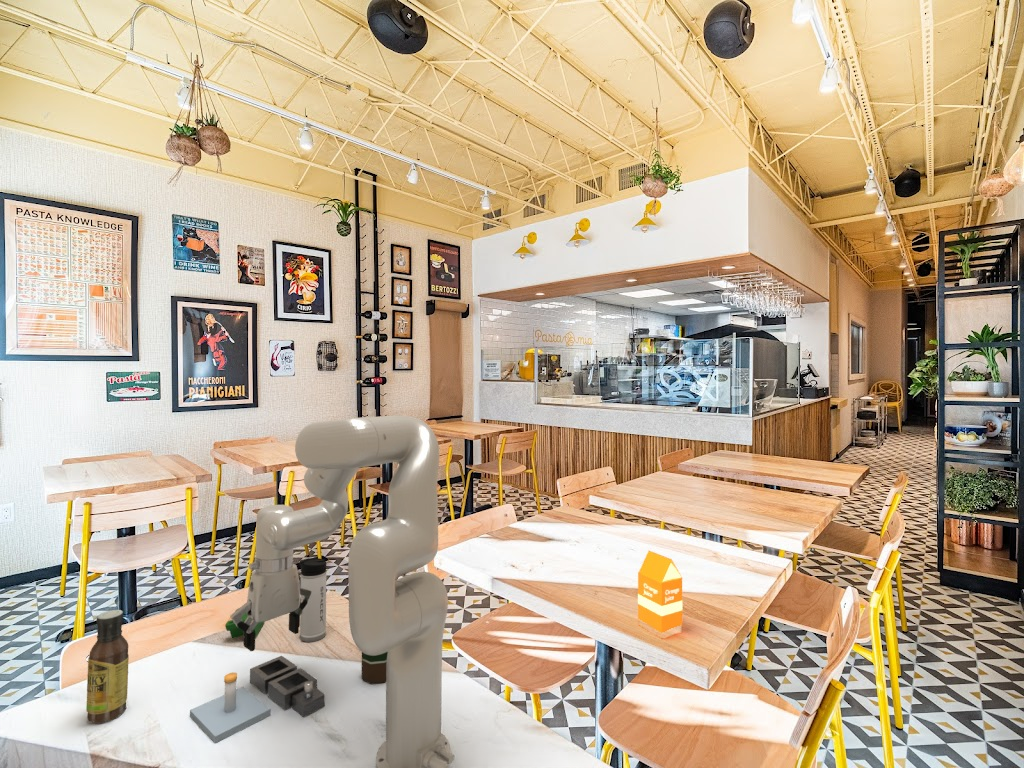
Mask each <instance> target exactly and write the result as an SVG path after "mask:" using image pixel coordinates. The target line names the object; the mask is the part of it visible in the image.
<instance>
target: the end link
mask: <svg viewBox="0 0 1024 768" xmlns="http://www.w3.org/2000/svg"><path fill="white" fill-rule="evenodd" d="M297 669H298V665H296V664H295V663H293V662H292V661H290V660H289V659H287V658H286V657H284V656H282V655H279V656H277V657H275V658H272V659H270V660H268V661H265V662H263V663H261V664H258V665H256V666H253V667H251V668H249V684H251V685H252V686H253V687H255V688H256V689H257V690H259V691H260V693H262V694H263V695H268V682H270V681H273V680H275V679H277V678H279V677H281V676H284V675H286V674H288V673H290V672H292V671H295V670H297Z"/></svg>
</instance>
